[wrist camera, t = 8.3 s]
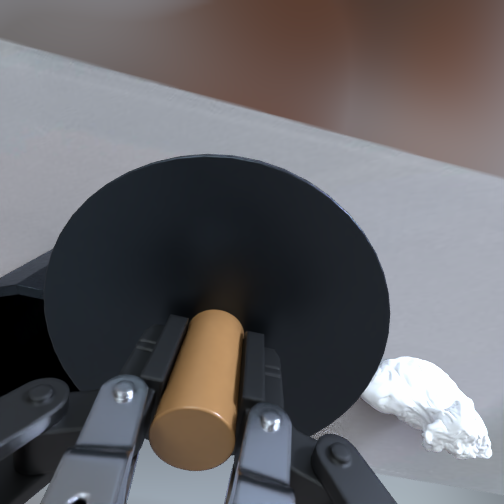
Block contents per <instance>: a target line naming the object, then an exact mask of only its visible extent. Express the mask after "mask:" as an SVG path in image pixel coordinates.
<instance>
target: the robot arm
mask: <svg viewBox="0 0 504 504" xmlns="http://www.w3.org/2000/svg"><path fill="white" fill-rule="evenodd" d="M188 320H189V318H186V317H182V316H177V315H172V314H171V315H170V316H169V318H168V320H167V322H166V324H165V326H163V325H158V324H153V325H152V326H150V327H149V328H147V329H146V330H145V331H144V332H143V334H142V336H141V337H140V339H139V341H138V342H137V344H136V346H135V348H134V349H133V351H132V353H131V354H130V356H129V358H128V359H127V361H126V363H125V364H124V366H123V368H122V369H121V371H120V373H119V374H118V376H115V377H113V378H111V379H109V380H107V381H106V382H105V383H104V384H103V385H102V387H101V388H100V389H96V390H91V391H79V392H69V387H68V385H67V384H66V383H65V382H64V381H62V380H60V379H56V378H41V379H37V380H33V381H31V382H28V383H26V384H24V385H23V386H21V387H19V388H17V389H15V390H13V391H11V392H9V393H7V394H5V395H4V396H2V397H0V504H24V503H25V502H27V501H28V500H29V499H30V498H31V497H33V496H34V495H35V494H36V493H37V492H39V491H40V490H41V489H42V488H43V487H45V486H46V485H47V484H48V483H50V484H49V486H48V488H47V490H46V493H45V495H44V497H43V499H42V501H41V503H40V504H127V500H128V496H129V491H130V488H131V484H132V479H133V475H134V472H135V467H136V463H137V459H138V455H139V450H140V448H141V446H142V444H143V441H144V439H145V436H146V435H149V428H150V425H151V422H152V420H153V417H154V414H155V412H156V409H157V407H158V404H159V402H160V399H161V396H162V394H163V391H164V388H165V386H166V383H167V380H168V378H169V375H170V373H171V370H172V367H173V365H174V362H175V359H176V357H177V354H178V351H179V349H180V346H181V343H182V341H183V338H184V335H185V333H186V330H187V326H188ZM281 377H282V375H281V363H280V358H279V356H278V354H277V353H276V351H275V349H271V348H266V347H264V334H261V333H256V332H252V331H246V334H245V337H244V344H243V356H242V368H241V380H240V392H239V404H238V419H237V431H236V443H235V448H234V450H233V451H234V452H235V458H234V464H233V468H232V471H231V475H230V480H229V484H228V489H227V493H226V498H225V502H224V504H397V503H396V501H395V500H394V499H393V497H392V496H391V495H390V493H389V492H388V491H387V489H386V488H385V487H384V485H383V484H382V483H381V481H380V480H379V479H378V477H377V476H376V475H375V473H374V472H373V471H372V469H371V468H370V467H369V465H368V464H367V463H366V461H365V460H364V459H363V457H362V456H361V455H360V453H359V452H358V451H357V449H356V448H355V447H354V446H353V445H352V444H351V443H350V442H349V441H348V440H346V439H345V438H343V437H341V436H338V435H335V434H325V435H323V436H321V437H320V438H319V439H318V441H317V440H315V439H313V438H311V437H309V436H307V435H305V434H304V433H302V432H300V431H299V430H297V429H296V428H295V427H294V426H293V425H292V423H291V420H290V417H289V416H288V414H287V413H286V412H285V409H284V398H283V387H282V379H281Z"/></svg>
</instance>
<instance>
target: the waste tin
mask: <svg viewBox="0 0 504 504" xmlns="http://www.w3.org/2000/svg"><path fill="white" fill-rule="evenodd" d="M52 251H53V249H52V250H50V251H48V252H47V253H45V254H43V255H41V256H39V257H37V258H36V259H34V260H32V261H30V262H28V263H26V264H25V265H23V266H21V267H19V268H17V269H15V270H14V271H12V272H10V273H8V274H6V275H5V276H3V277H1V278H0V397H2V396H4V395H5V394H7V393H9V392H11V391H13V390H15V389H17V388H19V387H21V386H23V385H24V384H26V383H28V382H31V381H33V380H37V379H41V378H56V379H60V380H62V381H64V382H65V383H66V384H67V385H68V387H69V392H79V391H80V390H79V389H78V388H77V387H76V385H75V384H74V383H73V381H72V380H71V378H70V377H69V375H68V374H67V373H66V371H65V370H64V368H63V366H62V364H61V362H60V360H59V358H58V356H57V354H56V352H55V350H54V347H53V345H52V342H51V339H50V336H49V333H48V328H47V323H46V318H45V313H44V285H45V275H46V271H47V267H48V263H49V260H50V256H51V253H52Z"/></svg>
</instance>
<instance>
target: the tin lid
mask: <svg viewBox="0 0 504 504" xmlns="http://www.w3.org/2000/svg"><path fill="white" fill-rule="evenodd" d="M44 313H45V318H46V323H47V328H48V333H49V336H50V339H51V342H52V345H53V347H54V350H55V352H56V354H57V356H58V358H59V360H60V362H61V364H62V366H63V368H64V370H65V371H66V373H67V374H68V375H69V377H70V378H71V380H72V381H73V383H74V384H75V385H76V387H77V388H78V389H79V390H80V391H91V390H96V389H100V388H101V387H102V385H103V384H104V383H105V382H106V381H107V380H109V379H111V378H113V377H115V376H118V374H119V373H120V371H121V369H122V368H123V366H124V364H125V363H126V361H127V359H128V358H129V356H130V354H131V353H132V351H133V349H134V348H135V346H136V344H137V342H138V341H139V339H140V337H141V336H142V334H143V332H144V331H145V330H146V329H147V328H149V327H150V326H152V325H153V324H158V325H163V326H165V324H166V322H167V320H168V318H169V316H170V315H171V314H172V315H177V316H182V317H186V318H189V320H188V326H187V330H186V333H185V335H184V338H183V341H182V343H181V346H180V349H179V351H178V354H177V357H176V359H175V362H174V365H173V367H172V370H171V373H170V375H169V378H168V380H167V383H166V386H165V388H164V391H163V394H162V396H161V399H160V402H159V404H158V407H157V409H156V412H155V414H154V417H153V420H152V422H151V425H150V428H149V435H146V436H145V439H148V440H149V442H150V445H151V447H152V449H153V451H154V452H155V453H156V455H157V456H158V457H159V458H160V459H162V460H163V461H164V462H166V463H167V464H169V465H171V466H174V467H176V468H180V469H183V470H189V471H202V470H208V469H212V468H214V467H217V466H219V465H221V464H222V463H224V462H225V461H226V460H227V459H228V458H229V457H230V456H231V455H235V452H234V451H233V450H234V448H235V443H236V431H237V419H238V404H239V392H240V380H241V368H242V356H243V344H244V337H245V334H246V331H252V332H256V333H261V334H264V347H266V348H271V349H275V351H276V353H277V354H278V356H279V358H280V363H281V375H282V377H281V379H282V387H283V398H284V409H285V412H286V413H287V414H288V416H289V417H290V420H291V423H292V425H293V426H294V427H295V428H296V429H297V430H299V431H300V432H302V433H304V434H305V435H307V436H312V435H314V434H315V433H317V432H319V431H320V430H322V429H323V428H325V427H327V426H328V425H330V424H331V423H332V422H334V421H335V420H336V419H338V418H339V417H340V416H341V415H343V414H344V413H345V412H346V411H347V410H348V409H349V408H350V407H351V406H352V405H353V404H354V403H355V402H356V401H357V400H358V398H359V397H360V396H361V394H362V393H363V392H364V391H365V389H366V388H367V387H368V385H369V383H370V382H371V380H372V378H373V376H374V375H375V373H376V371H377V369H378V367H379V364H380V362H381V359H382V357H383V354H384V351H385V347H386V343H387V338H388V334H389V322H390V304H389V293H388V288H387V284H386V280H385V275H384V272H383V269H382V267H381V264H380V262H379V259H378V257H377V254H376V252H375V250H374V249H373V247H372V245H371V244H370V242H369V240H368V238H367V237H366V235H365V233H364V232H363V231H362V229H361V228H360V227H359V226H358V225H357V223H356V222H355V221H354V220H353V218H352V217H351V216H350V215H349V214H348V213H347V212H346V211H345V210H344V209H343V208H342V207H341V206H340V205H339V204H338V203H336V202H335V201H334V200H333V199H332V198H331V197H330V196H329V195H328V194H326V193H325V192H323V191H322V190H320V189H319V188H317V187H316V186H315V185H313V184H312V183H310V182H309V181H307V180H305V179H303V178H301V177H299V176H297V175H295V174H293V173H291V172H289V171H287V170H285V169H283V168H280V167H277V166H274V165H271V164H268V163H265V162H262V161H259V160H254V159H249V158H244V157H239V156H234V155H217V154H200V155H188V156H179V157H175V158H170V159H166V160H161V161H157V162H153V163H150V164H148V165H145V166H142V167H140V168H137V169H134V170H132V171H129V172H127V173H125V174H124V175H122V176H120V177H118V178H116V179H115V180H113V181H111V182H109V183H108V184H106V185H105V186H104V187H102V188H101V189H100V190H98V191H97V192H96V193H95V194H93V195H92V196H91V197H89V198H88V199H87V200H86V201H85V202H84V203H83V205H82V206H81V207H80V208H79V209H78V210H77V211H76V212H75V213H74V214H73V215H72V217H71V218H70V220H69V221H68V223H67V224H66V226H65V227H64V229H63V230H62V232H61V233H60V235H59V237H58V240H57V242H56V244H55V246H54V248H53V251H52V253H51V256H50V260H49V263H48V267H47V271H46V275H45V285H44Z"/></svg>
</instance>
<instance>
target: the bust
mask: <svg viewBox="0 0 504 504" xmlns="http://www.w3.org/2000/svg"><path fill="white" fill-rule="evenodd" d="M360 397H361V398H362V399H363V400H364V401H365V402H367V403H368V404H369V405H370V406H372V407H373V408H374V409H376V410H377V411H379V412H382V413H385V414H394V415H396V416H397V417H398V419H399V420H401V421H403V422H405V423H407V424H408V425H410V426H411V427H412V428H414V429H418V430H422V431H423V432H424V433H423V434H422V437H423V438H424V439H423V442H422V446H423V447H424V448H425V449H426V451H433V452H436V453H438V452H442V450H443V449H445V450H446V451H447V452H448V453H449V454H452V456H454V457H455V458H457V459H463V460H466V459H468V458H473V459H474V458H475V457H480V458H484V459H489V458H490V457H491V456H492V451H491V448H490V446H491V442H490V440H489V438H488V436H487V429H486V427H485V425H484V423H483V421H482V419H481V417H480V416H479V415H478V413H477V412H476V411H475V410H474V403H473V401H472V400H471V399H469V398H468V397H466V396H465V395H464V394H463V393H462V392H461V391H460V390H459V389H458V387H457V385H456V384H455V382H453V381H452V380H451V379H450V378H449V376H448V375H447V374H446V373H445V372H443V371H442V370H441V369H440V368H439V367H437V366H436V365H434V364H433V363H430V362H428V361H425V360H420V359H418V358H411V357H399V358H396V359H388V360H385V361H383V362H382V363H381V364H380V365H379V367H378V369H377V371H376V373H375V375H374V376H373V378H372V380H371V382H370V383H369V385H368V387H367V388H366V389H365V391H364V392H363V393H362V394H361V396H360Z"/></svg>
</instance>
